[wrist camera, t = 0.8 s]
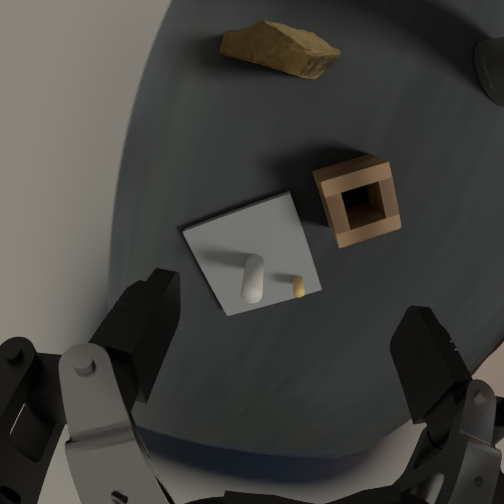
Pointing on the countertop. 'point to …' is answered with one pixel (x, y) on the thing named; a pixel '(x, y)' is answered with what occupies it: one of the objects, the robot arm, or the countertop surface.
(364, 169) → the wooden square frame
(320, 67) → the rock
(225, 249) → the post board
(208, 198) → the countertop surface
